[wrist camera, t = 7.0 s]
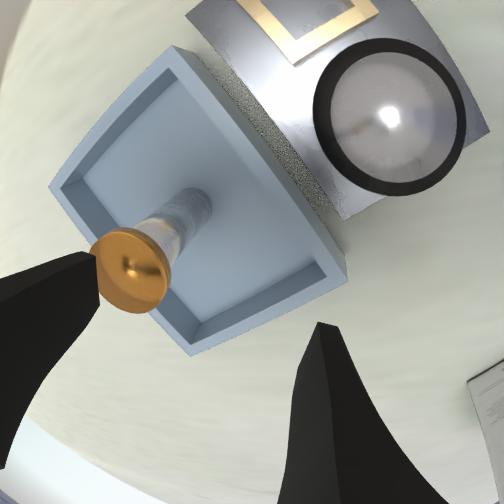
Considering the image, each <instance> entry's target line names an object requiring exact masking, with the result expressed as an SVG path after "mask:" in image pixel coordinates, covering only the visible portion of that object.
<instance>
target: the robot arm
mask: <svg viewBox="0 0 504 504" xmlns="http://www.w3.org/2000/svg"><path fill="white" fill-rule="evenodd" d="M99 306H100V301H99V291H98V279H97V266H96V256H95V255H92V254H89V253H86V252H83V251H80V252H76V253H73V254H69V255H66V256H63V257H60V258H57V259H54V260H52V261H49V262H46V263H43V264H41V265H38V266H35V267H32V268H30V269H27V270H24V271H21V272H18V273H15V274H12V275H9V276H7V277H4V278H1V279H0V469H4V468H5V464H6V461H7V457H8V454H9V451H10V448H11V445H12V442H13V439H14V437H15V434H16V432H17V430H18V427H19V425H20V423H21V420H22V418H23V416H24V414H25V412H26V410H27V408H28V406H29V405H30V403H31V401H32V399H33V397H34V395H35V394H36V392H37V390H38V389H39V387H40V385H41V384H42V382H43V380H44V379H45V377H46V376H47V375H48V373H49V372H50V371H51V369H52V368H53V367H54V366H55V364H56V363H57V362H58V361H59V359H60V358H61V357H62V356H63V355H64V353H65V352H66V351H67V350H68V349H69V347H70V346H71V345H72V344H73V343H74V341H75V340H76V339H77V338H78V337H79V335H80V334H81V333H82V332H83V330H84V329H85V328H86V326H87V325H88V323H89V322H90V320H91V319H92V317H93V316H94V314H95V312H96V311H97V309H98V307H99ZM0 504H18V503H17V502H16V501H15V500H13V499H12V498H10V497H9V496H8V495H7V494H6V493H4V492H3V491H2V490H1V489H0ZM277 504H449V503H448V502H447V501H446V500H444V499H443V498H442V497H441V496H440V494H439V493H438V492H437V491H436V490H435V489H434V488H433V487H432V486H431V485H430V484H429V483H428V482H427V481H426V479H425V478H424V477H423V476H422V475H421V474H420V472H419V471H418V470H417V469H416V468H415V466H414V465H413V464H412V462H411V461H410V460H409V459H408V457H407V456H406V455H405V453H404V452H403V451H402V449H401V448H400V447H399V445H398V444H397V442H396V441H395V439H394V438H393V436H392V435H391V433H390V432H389V430H388V429H387V427H386V425H385V424H384V422H383V421H382V419H381V417H380V416H379V414H378V412H377V410H376V408H375V406H374V405H373V403H372V401H371V399H370V397H369V395H368V393H367V391H366V389H365V387H364V385H363V383H362V381H361V379H360V376H359V374H358V372H357V370H356V368H355V366H354V363H353V361H352V359H351V356H350V354H349V352H348V349H347V347H346V345H345V342H344V340H343V337H342V335H341V333H340V330H339V328H338V327H337V326H333V325H329V324H325V323H321V322H317V325H316V327H315V330H314V332H313V334H312V337H311V339H310V341H309V344H308V346H307V348H306V351H305V353H304V355H303V357H302V360H301V362H300V364H299V366H298V370H297V375H296V380H295V385H294V390H293V395H292V404H291V416H290V428H289V439H288V450H287V460H286V467H285V473H284V477H283V481H282V486H281V490H280V494H279V498H278V502H277Z"/></svg>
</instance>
